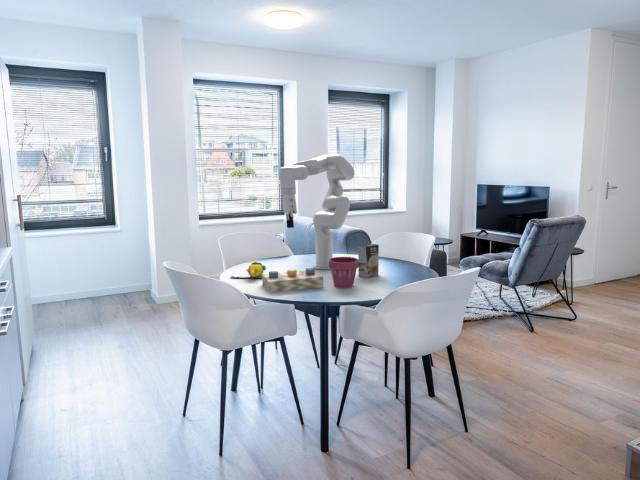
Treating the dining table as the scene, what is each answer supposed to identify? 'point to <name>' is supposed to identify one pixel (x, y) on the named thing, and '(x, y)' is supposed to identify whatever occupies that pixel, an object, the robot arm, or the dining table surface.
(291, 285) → the console
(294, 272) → the knob mid
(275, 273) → the knob
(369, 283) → the dining table surface
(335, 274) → the plant pot
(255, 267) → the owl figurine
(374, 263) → the coffee box
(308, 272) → the knob
